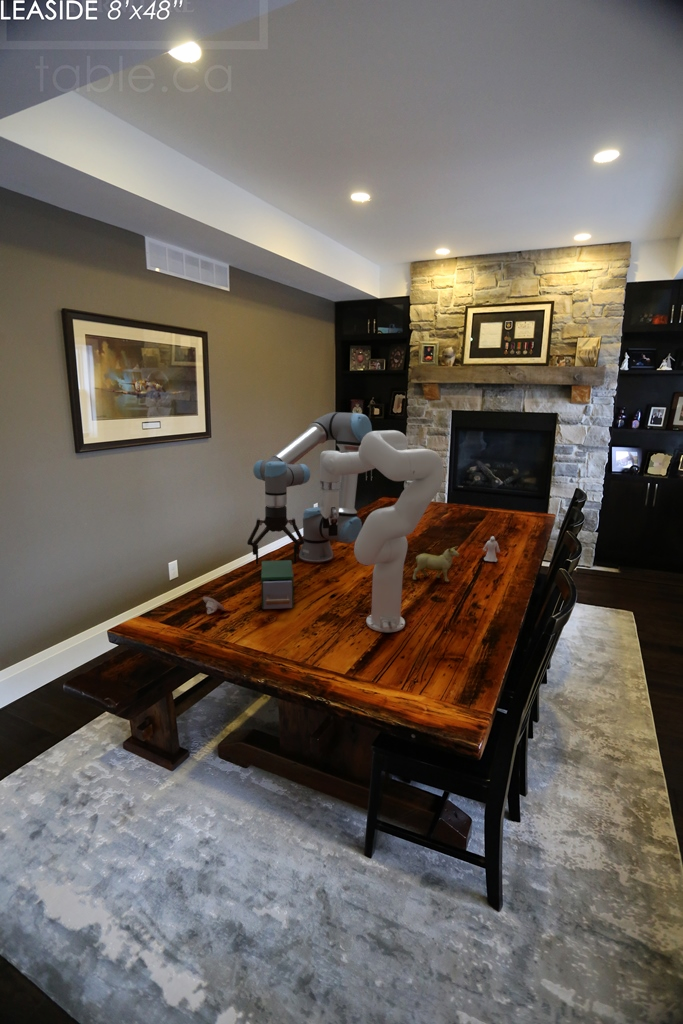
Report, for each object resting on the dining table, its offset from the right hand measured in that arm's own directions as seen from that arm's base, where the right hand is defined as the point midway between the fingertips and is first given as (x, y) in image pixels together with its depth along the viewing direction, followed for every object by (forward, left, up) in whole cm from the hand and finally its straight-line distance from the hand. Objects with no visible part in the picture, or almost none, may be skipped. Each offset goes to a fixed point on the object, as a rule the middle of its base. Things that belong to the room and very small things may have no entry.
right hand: (329, 531), depth 182 cm
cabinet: (-6, +19, -23) cm, 31 cm away
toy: (+10, -43, -23) cm, 50 cm away
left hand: (-2, +20, -11) cm, 22 cm away
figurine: (+33, -74, -23) cm, 85 cm away
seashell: (-16, +40, -23) cm, 49 cm away
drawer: (-12, +19, -22) cm, 31 cm away
